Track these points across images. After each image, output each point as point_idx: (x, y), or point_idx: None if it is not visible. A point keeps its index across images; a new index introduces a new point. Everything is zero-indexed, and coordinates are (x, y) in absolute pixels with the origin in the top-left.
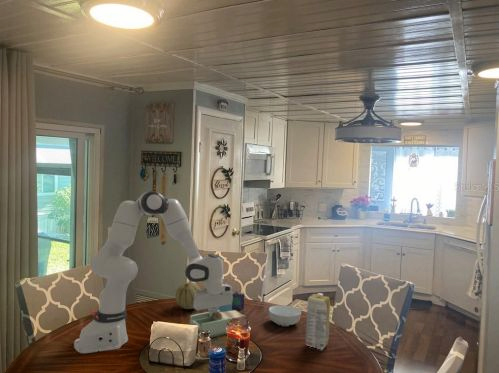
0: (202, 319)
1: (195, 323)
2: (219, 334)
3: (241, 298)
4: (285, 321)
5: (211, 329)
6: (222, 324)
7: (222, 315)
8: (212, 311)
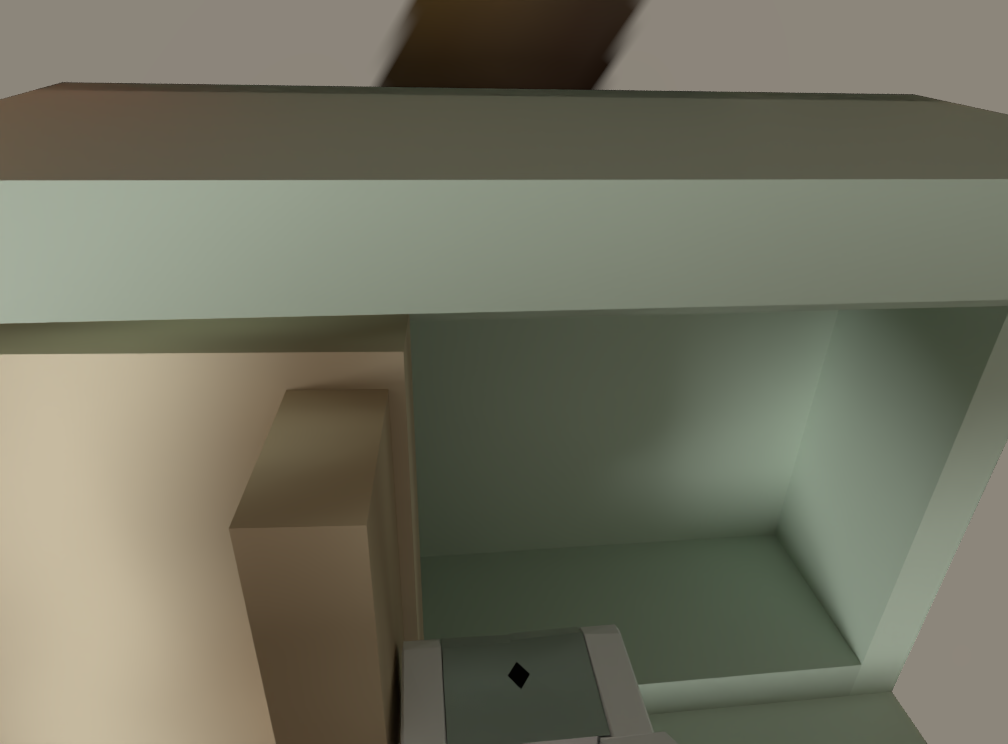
0: (652, 672)
1: (958, 542)
2: (457, 92)
3: None
4: None
5: (779, 125)
6: (358, 141)
7: (104, 655)
8: None
